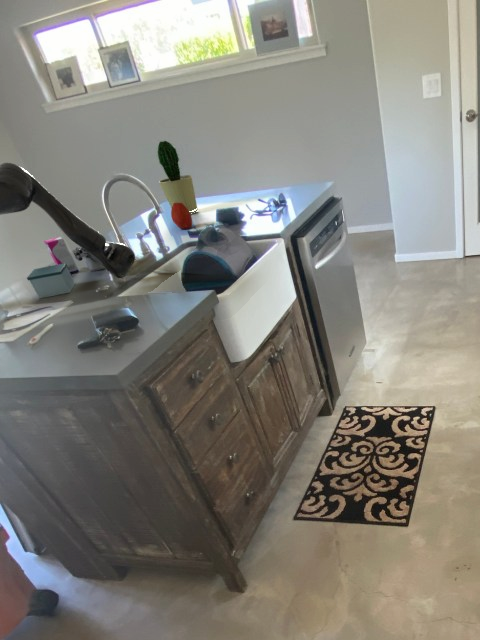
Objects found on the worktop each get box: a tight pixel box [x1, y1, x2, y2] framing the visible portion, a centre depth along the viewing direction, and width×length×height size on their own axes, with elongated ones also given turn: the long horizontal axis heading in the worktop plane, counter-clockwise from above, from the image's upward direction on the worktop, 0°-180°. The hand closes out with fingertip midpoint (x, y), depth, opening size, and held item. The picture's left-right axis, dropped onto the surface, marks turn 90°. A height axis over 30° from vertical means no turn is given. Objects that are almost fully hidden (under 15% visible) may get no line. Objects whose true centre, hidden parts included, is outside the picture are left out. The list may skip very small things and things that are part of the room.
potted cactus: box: [155, 139, 199, 214], centre depth 244 cm, size 15×15×30 cm
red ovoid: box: [170, 201, 193, 230], centre depth 225 cm, size 8×8×11 cm
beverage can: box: [77, 245, 106, 272], centre depth 190 cm, size 6×6×12 cm
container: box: [26, 263, 76, 299], centre depth 176 cm, size 11×11×7 cm
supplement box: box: [43, 236, 80, 275], centre depth 191 cm, size 6×6×12 cm
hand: (87, 247), depth 191 cm, fingers closed on beverage can, 6 cm apart
